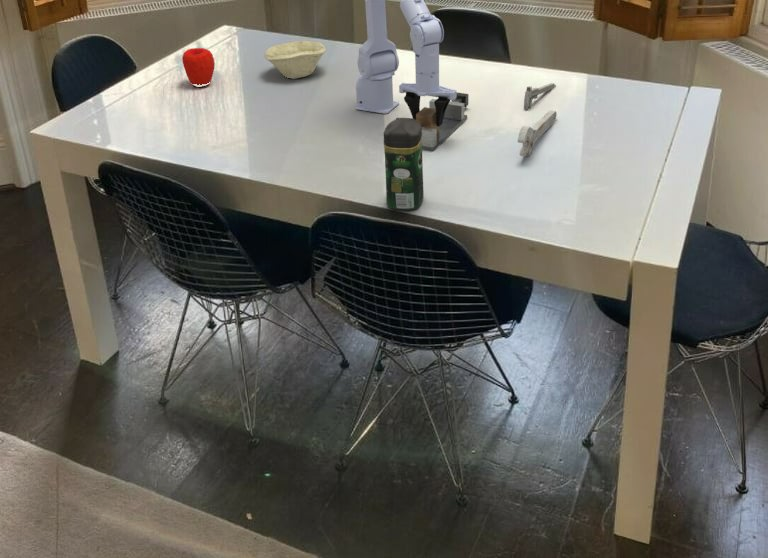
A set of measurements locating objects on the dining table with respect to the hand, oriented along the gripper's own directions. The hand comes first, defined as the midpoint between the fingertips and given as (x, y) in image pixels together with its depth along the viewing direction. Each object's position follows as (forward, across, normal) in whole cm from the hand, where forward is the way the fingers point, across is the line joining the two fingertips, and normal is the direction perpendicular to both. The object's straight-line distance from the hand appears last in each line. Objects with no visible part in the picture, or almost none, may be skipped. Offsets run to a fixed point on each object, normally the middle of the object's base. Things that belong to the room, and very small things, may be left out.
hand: (428, 123), depth 231 cm
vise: (+4, 0, +4) cm, 6 cm away
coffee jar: (+4, +10, -34) cm, 36 cm away
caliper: (+4, +18, +36) cm, 40 cm away
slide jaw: (+3, 0, +16) cm, 17 cm away
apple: (+4, -78, +11) cm, 78 cm away
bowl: (+4, -56, +29) cm, 63 cm away
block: (+3, 0, 0) cm, 3 cm away
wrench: (+4, +26, +8) cm, 28 cm away
